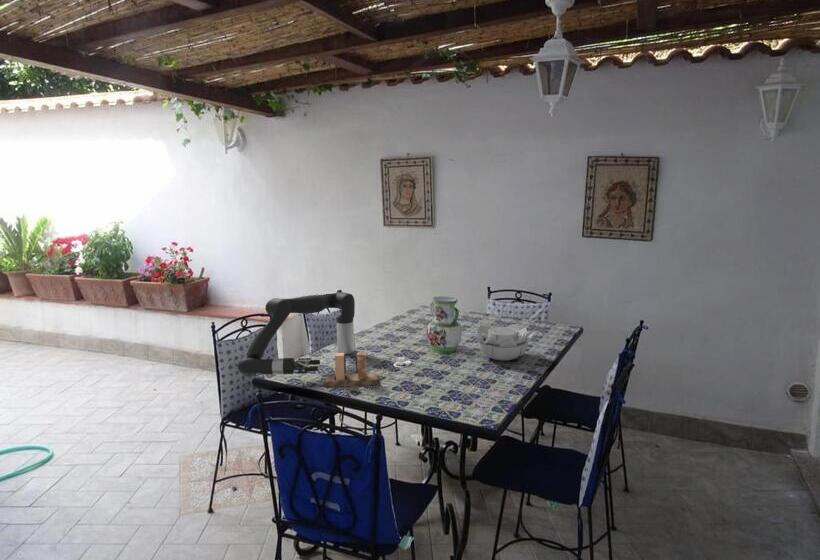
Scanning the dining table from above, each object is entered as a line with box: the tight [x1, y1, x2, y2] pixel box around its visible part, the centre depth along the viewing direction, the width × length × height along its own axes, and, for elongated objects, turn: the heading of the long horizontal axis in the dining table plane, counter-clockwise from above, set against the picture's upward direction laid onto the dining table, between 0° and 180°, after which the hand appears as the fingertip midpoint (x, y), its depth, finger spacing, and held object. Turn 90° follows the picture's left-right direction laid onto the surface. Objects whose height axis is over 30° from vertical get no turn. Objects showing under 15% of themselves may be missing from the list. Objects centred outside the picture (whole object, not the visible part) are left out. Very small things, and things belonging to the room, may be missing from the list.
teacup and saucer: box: [393, 356, 412, 368], centre depth 265 cm, size 9×8×4 cm
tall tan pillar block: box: [334, 352, 347, 380], centre depth 241 cm, size 5×4×14 cm
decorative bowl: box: [474, 323, 535, 362], centre depth 273 cm, size 30×30×15 cm
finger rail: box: [324, 351, 379, 388], centre depth 242 cm, size 24×8×14 cm, turn 93°
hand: (318, 365), depth 240 cm, fingers open, 8 cm apart
